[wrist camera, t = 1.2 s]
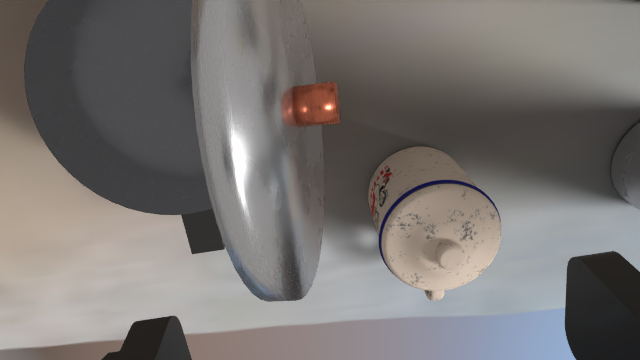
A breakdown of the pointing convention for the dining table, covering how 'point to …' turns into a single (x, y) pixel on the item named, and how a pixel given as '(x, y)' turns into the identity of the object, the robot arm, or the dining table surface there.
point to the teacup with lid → (432, 221)
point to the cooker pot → (123, 105)
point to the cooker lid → (262, 138)
